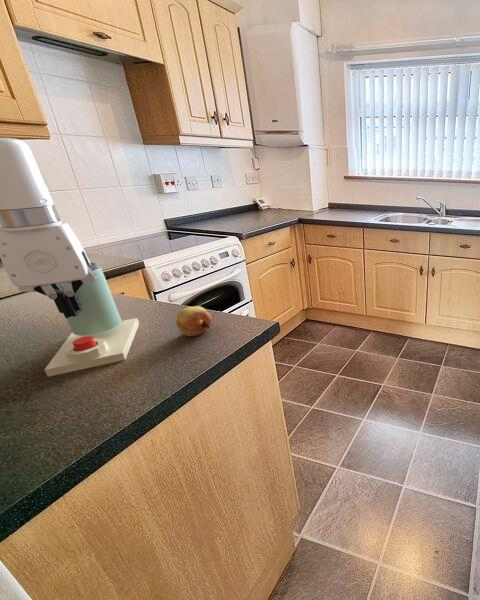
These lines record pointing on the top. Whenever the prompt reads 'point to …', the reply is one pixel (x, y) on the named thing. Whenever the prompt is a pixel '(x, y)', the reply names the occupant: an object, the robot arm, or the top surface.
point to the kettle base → (94, 349)
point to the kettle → (94, 307)
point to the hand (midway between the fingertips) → (73, 314)
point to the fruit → (193, 320)
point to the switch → (84, 343)
